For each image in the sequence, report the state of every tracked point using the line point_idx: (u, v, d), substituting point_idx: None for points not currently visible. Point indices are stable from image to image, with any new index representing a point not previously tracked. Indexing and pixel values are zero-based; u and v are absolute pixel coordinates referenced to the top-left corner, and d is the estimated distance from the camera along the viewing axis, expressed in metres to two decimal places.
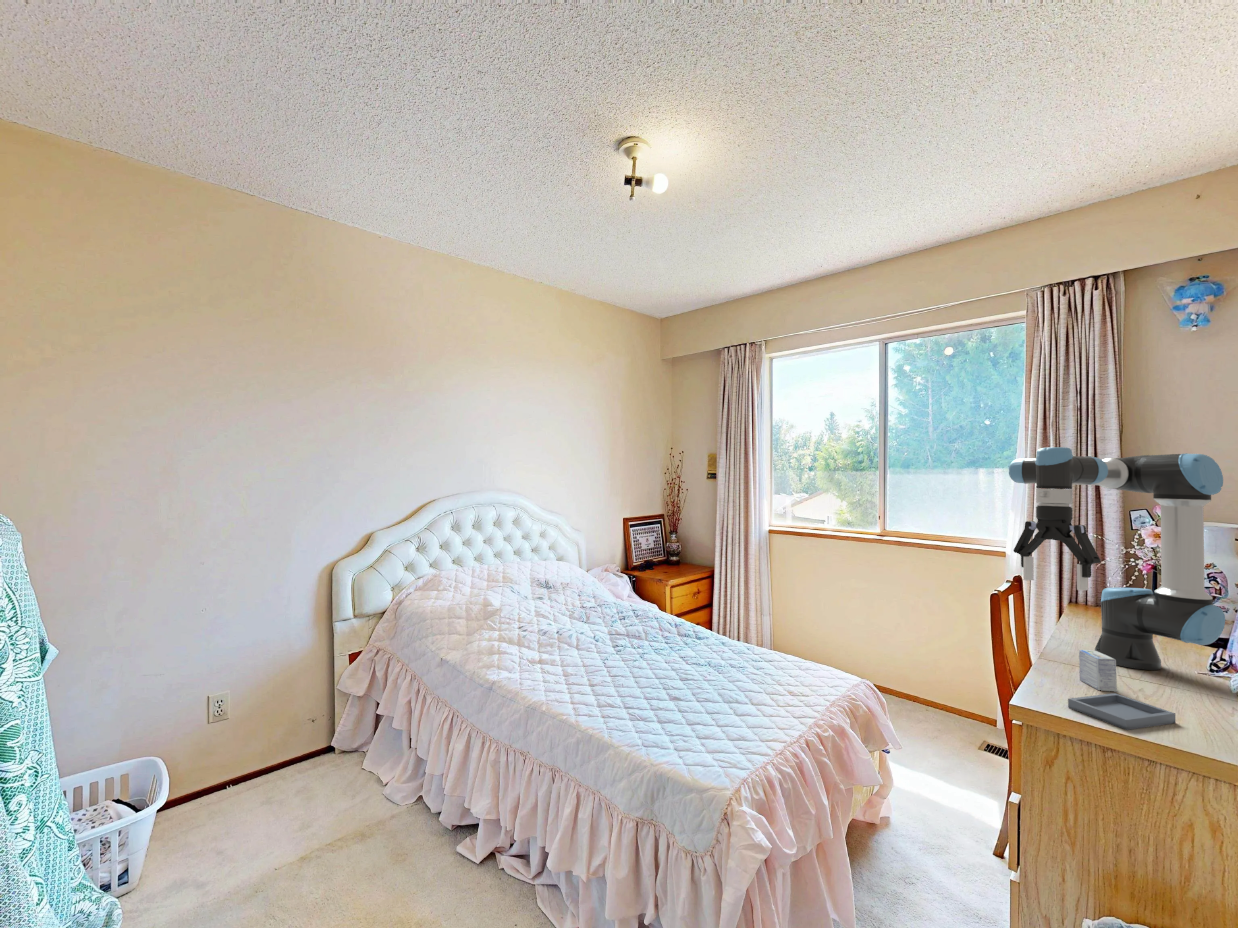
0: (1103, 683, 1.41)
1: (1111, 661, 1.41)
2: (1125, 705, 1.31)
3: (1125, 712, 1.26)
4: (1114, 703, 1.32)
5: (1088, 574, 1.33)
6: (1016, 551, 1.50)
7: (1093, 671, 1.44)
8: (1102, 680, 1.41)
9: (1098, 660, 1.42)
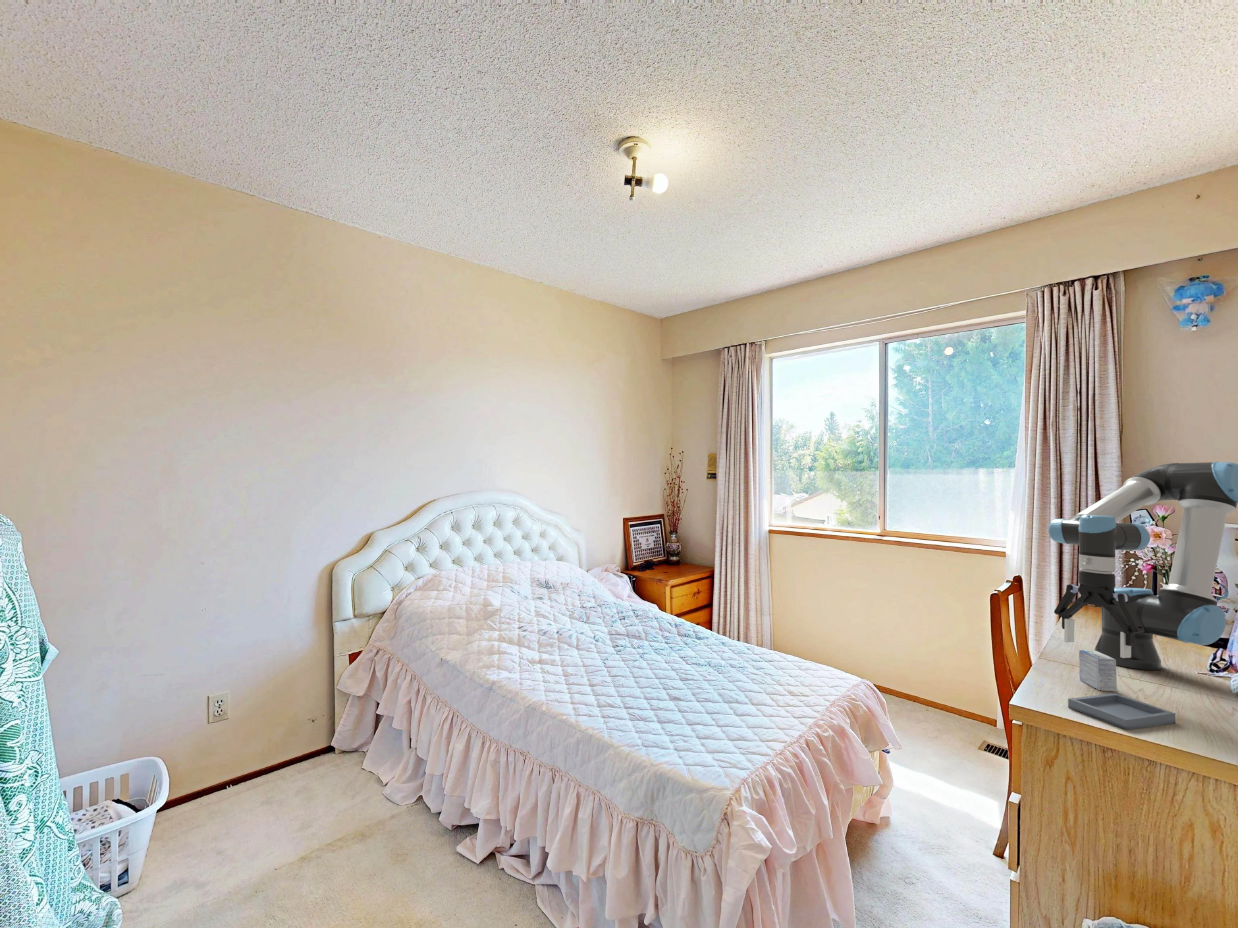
0: (1103, 683, 1.41)
1: (1111, 661, 1.41)
2: (1125, 705, 1.31)
3: (1125, 712, 1.26)
4: (1114, 703, 1.32)
5: (1132, 642, 1.37)
6: (1057, 612, 1.54)
7: (1093, 671, 1.44)
8: (1102, 680, 1.41)
9: (1098, 660, 1.42)
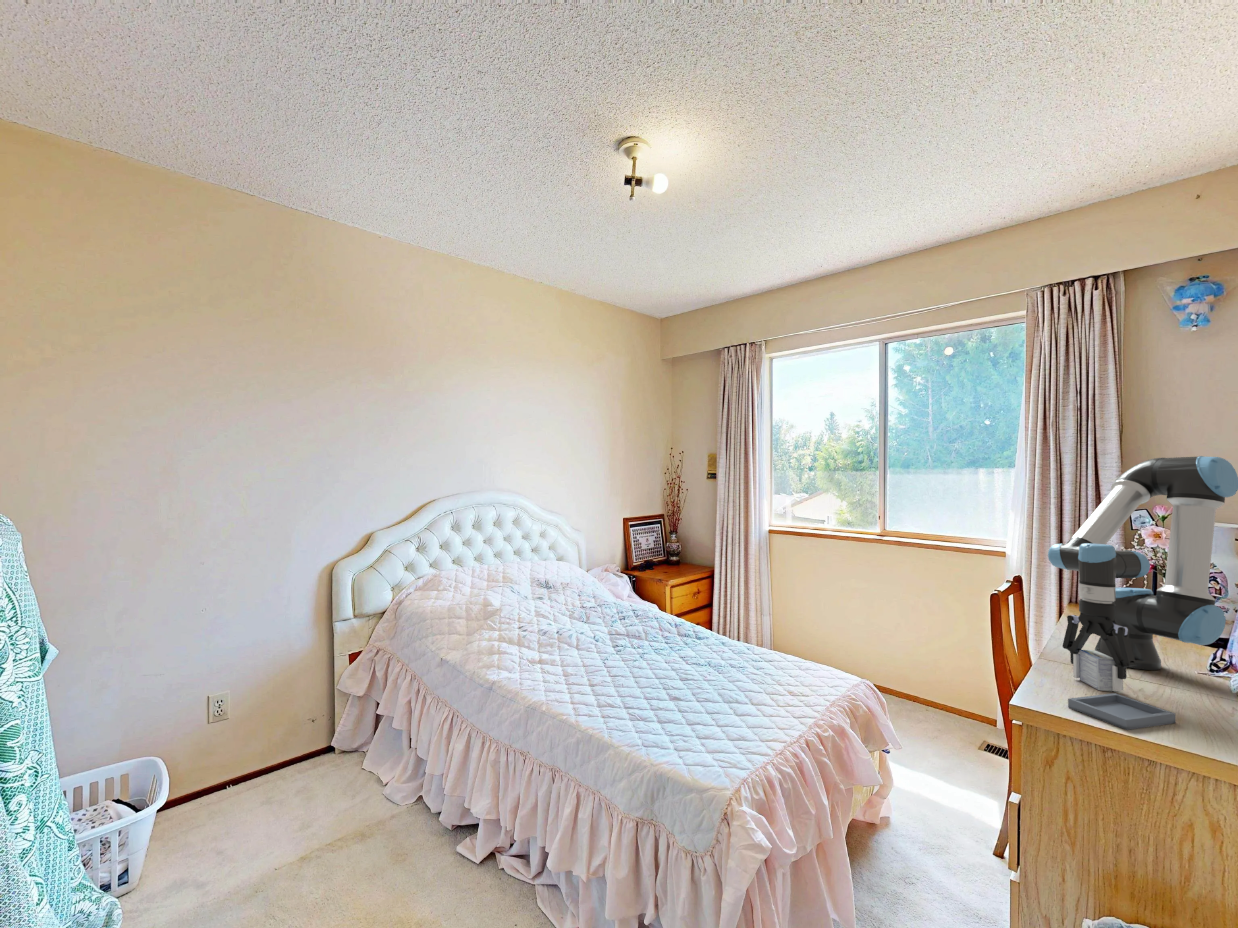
0: (1103, 683, 1.41)
1: (1111, 661, 1.41)
2: (1125, 705, 1.31)
3: (1125, 712, 1.26)
4: (1114, 703, 1.32)
5: (1123, 676, 1.39)
6: (1065, 647, 1.52)
7: (1093, 671, 1.44)
8: (1102, 680, 1.41)
9: (1098, 660, 1.42)
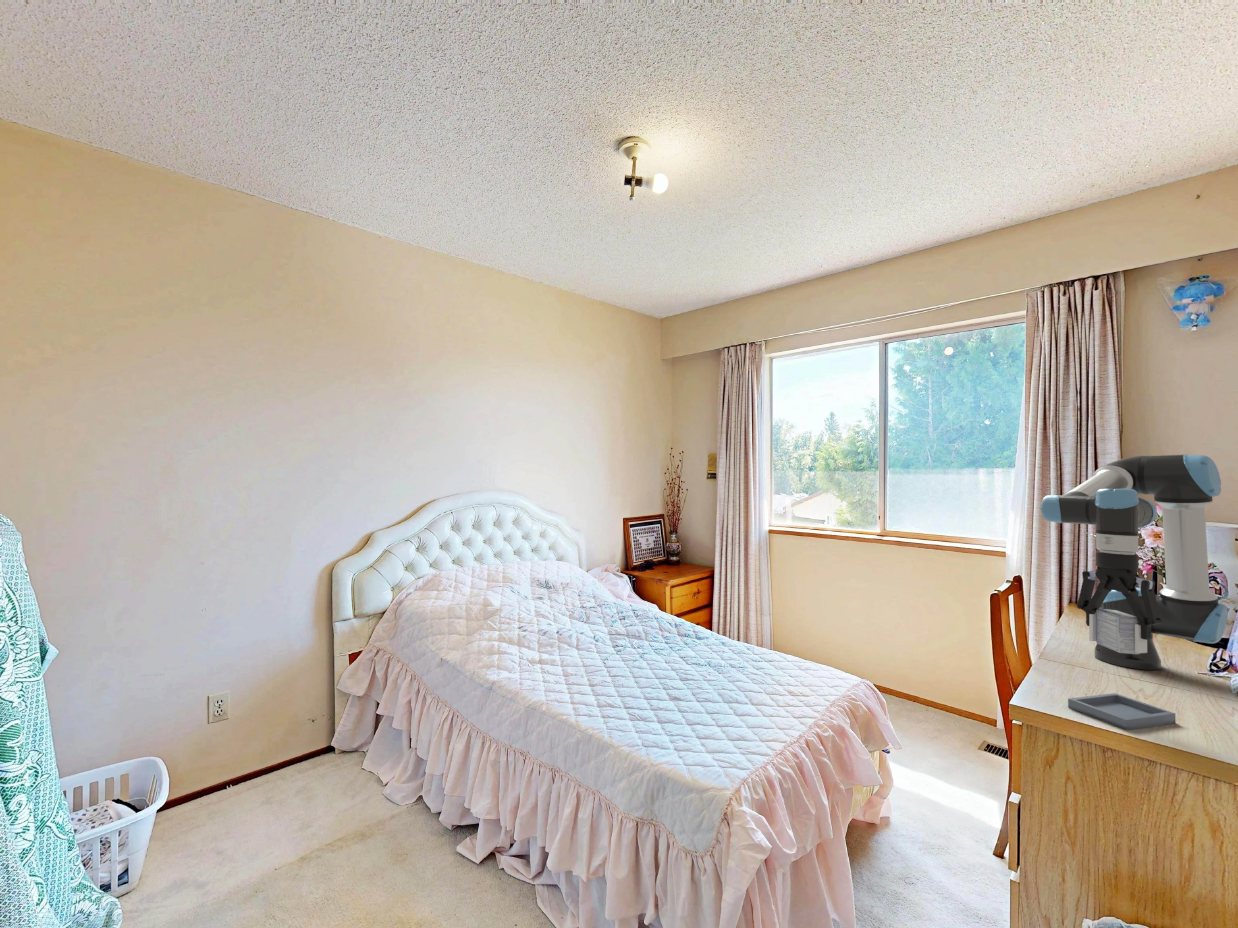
0: (1124, 644, 1.24)
1: (1134, 619, 1.24)
2: (1125, 705, 1.31)
3: (1125, 712, 1.26)
4: (1114, 703, 1.32)
5: (1148, 636, 1.22)
6: (1080, 607, 1.35)
7: (1112, 632, 1.26)
8: (1122, 641, 1.24)
9: (1118, 619, 1.25)
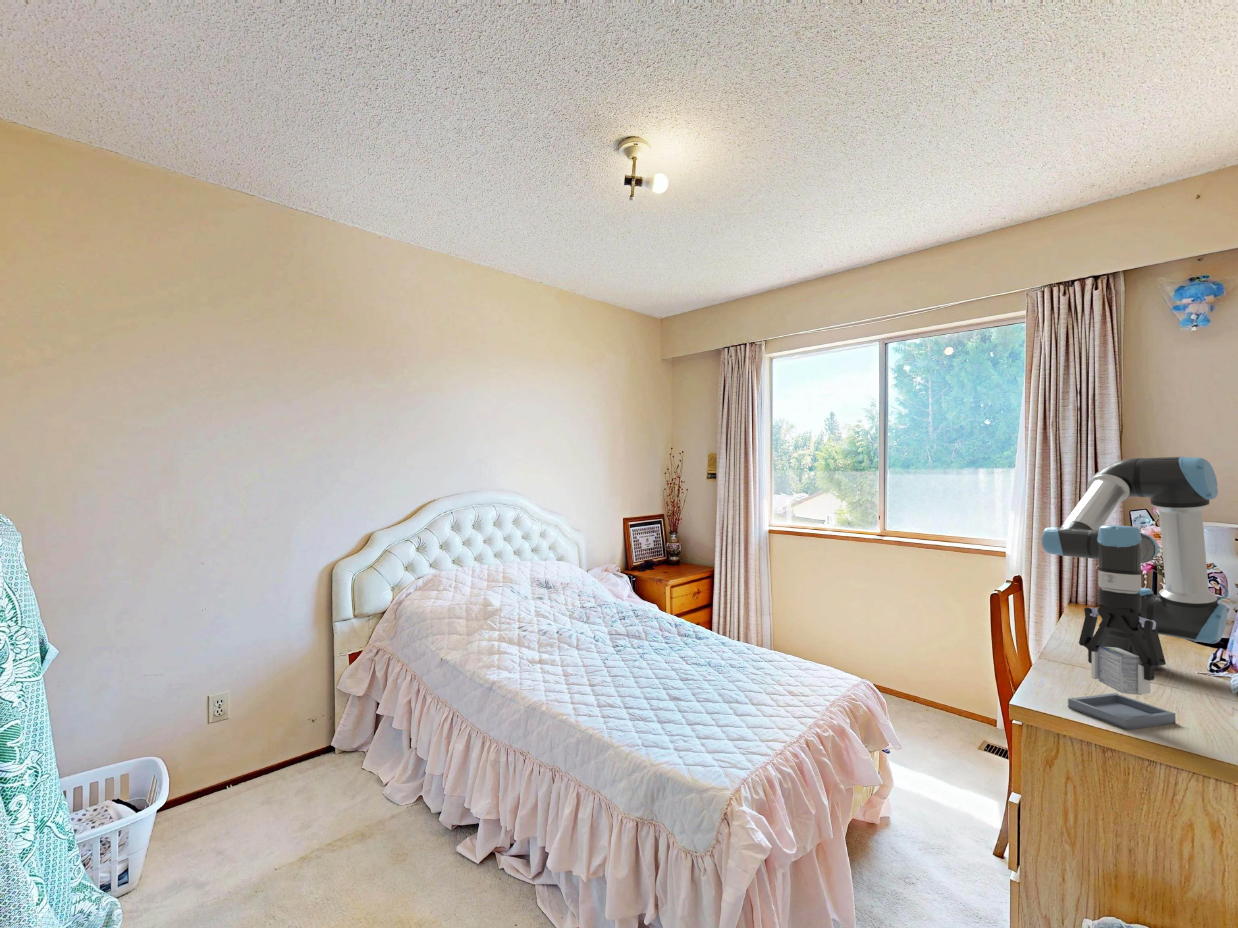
0: (1127, 684, 1.23)
1: (1137, 659, 1.23)
2: (1125, 705, 1.31)
3: (1125, 712, 1.26)
4: (1114, 703, 1.32)
5: (1151, 677, 1.21)
6: (1082, 644, 1.33)
7: (1115, 671, 1.25)
8: (1125, 681, 1.23)
9: (1121, 659, 1.23)
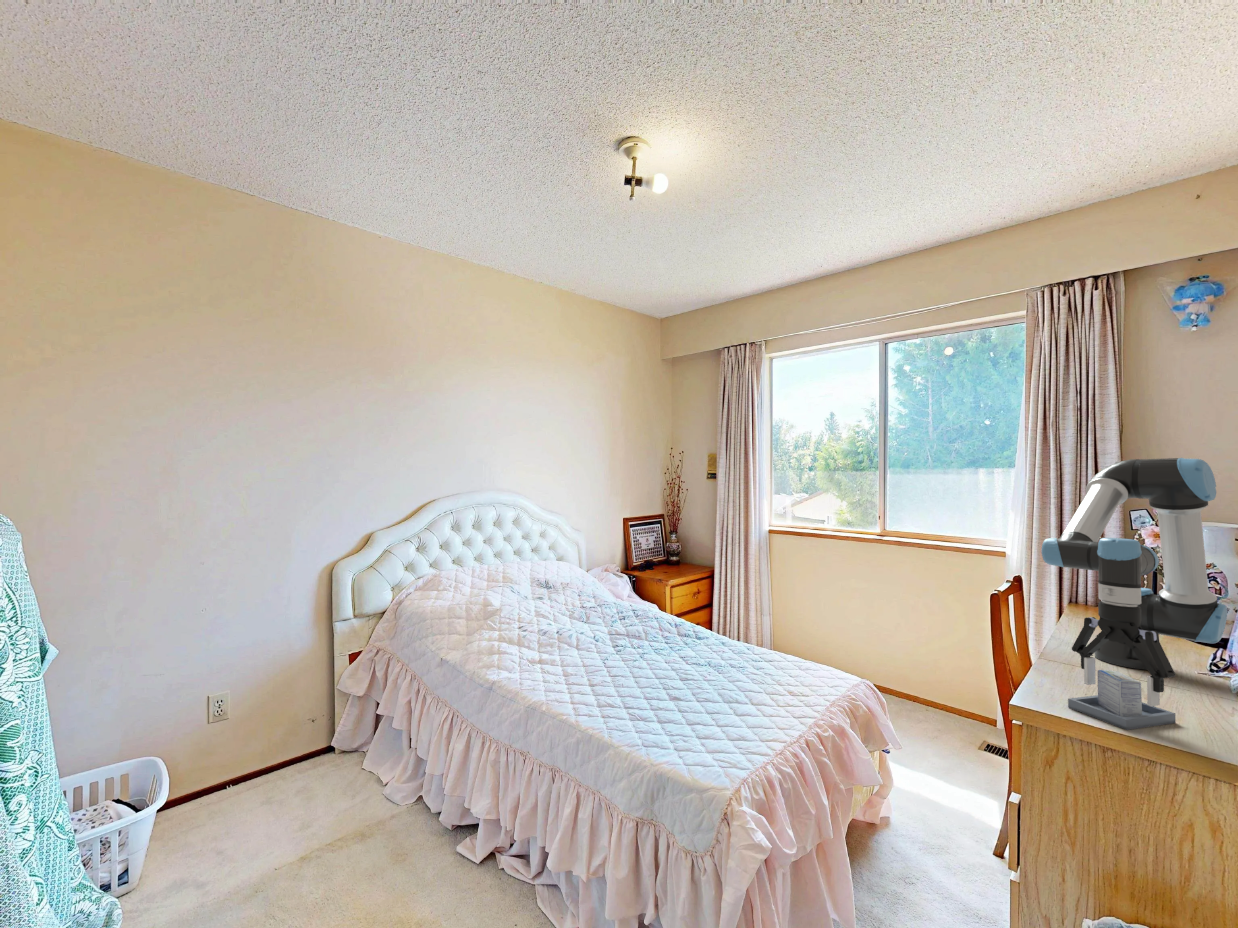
0: (1126, 709, 1.23)
1: (1136, 684, 1.23)
2: None
3: None
4: None
5: (1161, 689, 1.19)
6: (1075, 650, 1.35)
7: (1114, 696, 1.25)
8: (1125, 706, 1.23)
9: (1120, 683, 1.23)
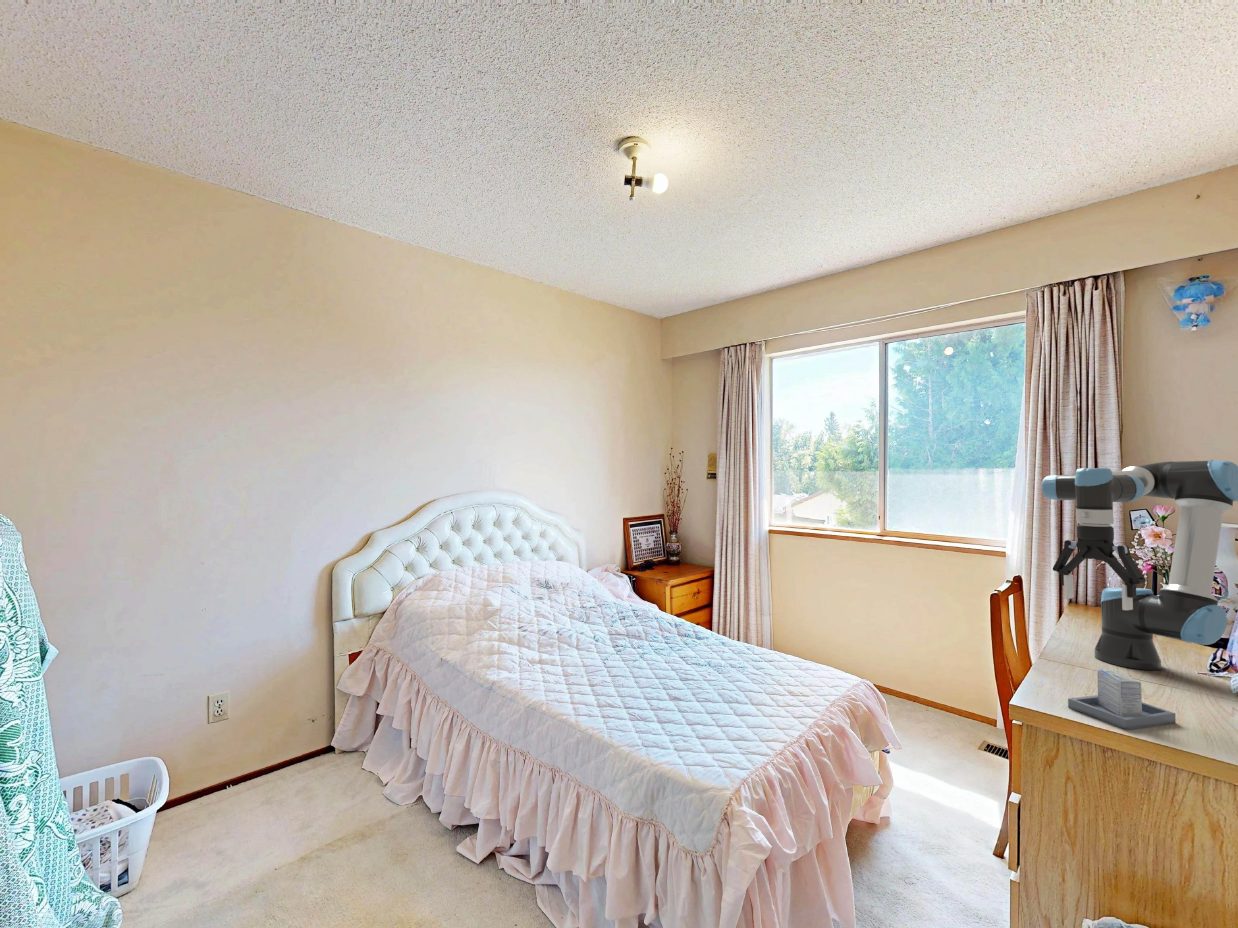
0: (1126, 709, 1.23)
1: (1136, 684, 1.23)
2: None
3: None
4: None
5: (1133, 594, 1.35)
6: (1055, 569, 1.52)
7: (1114, 696, 1.25)
8: (1125, 706, 1.23)
9: (1120, 683, 1.23)
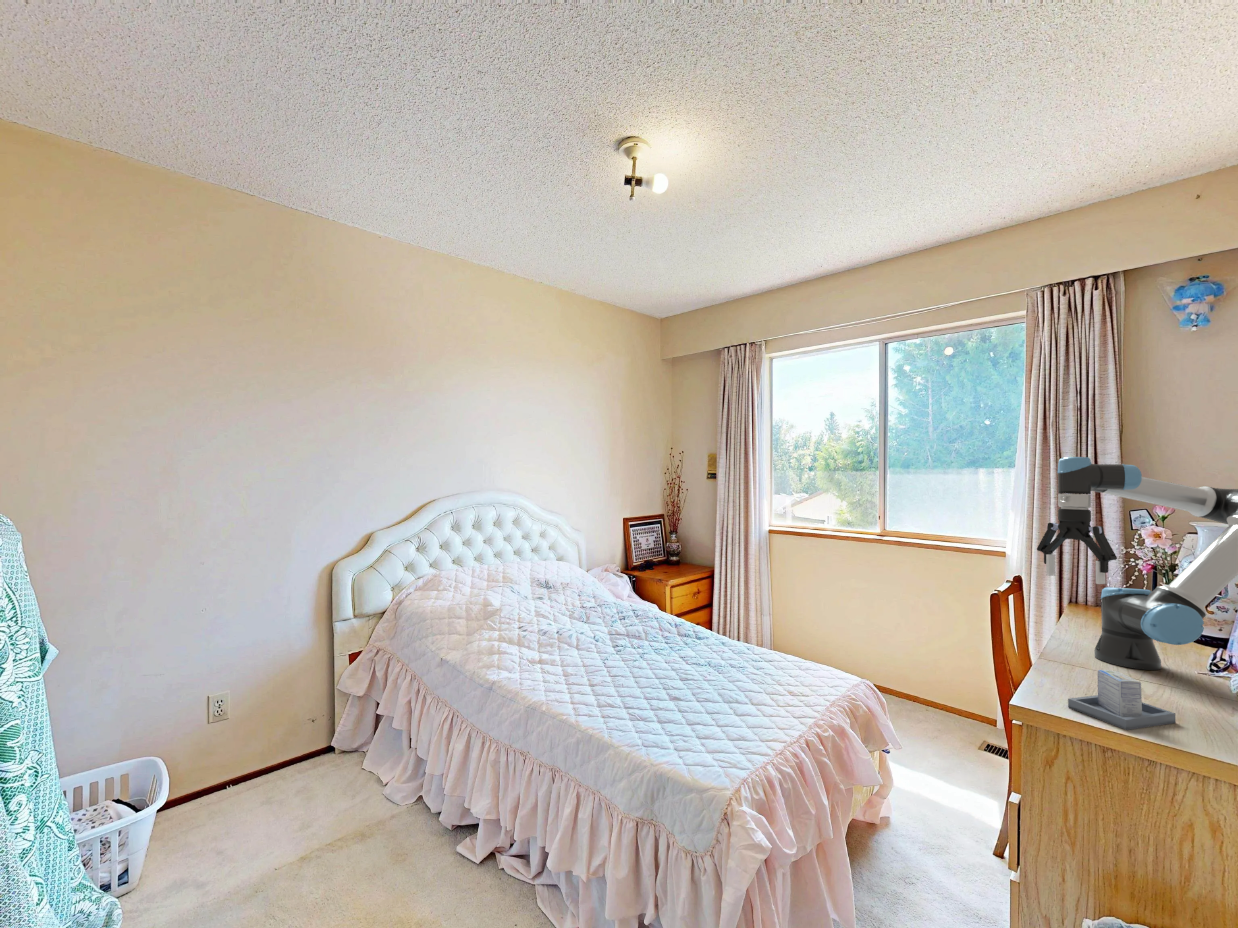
0: (1126, 709, 1.23)
1: (1136, 684, 1.23)
2: None
3: None
4: None
5: (1106, 570, 1.51)
6: (1039, 549, 1.67)
7: (1114, 696, 1.25)
8: (1125, 706, 1.23)
9: (1120, 683, 1.23)
